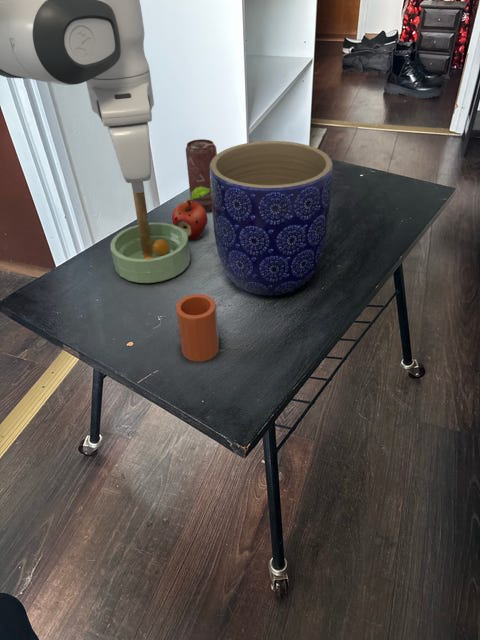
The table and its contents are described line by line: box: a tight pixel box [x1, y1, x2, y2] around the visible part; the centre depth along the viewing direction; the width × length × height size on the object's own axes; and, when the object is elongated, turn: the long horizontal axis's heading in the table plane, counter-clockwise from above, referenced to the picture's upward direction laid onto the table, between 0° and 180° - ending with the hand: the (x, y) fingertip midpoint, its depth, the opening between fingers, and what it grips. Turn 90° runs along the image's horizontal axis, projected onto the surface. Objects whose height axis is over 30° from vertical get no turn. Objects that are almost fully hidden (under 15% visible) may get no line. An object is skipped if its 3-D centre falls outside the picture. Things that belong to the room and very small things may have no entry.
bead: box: [153, 239, 169, 256], centre depth 88 cm, size 3×3×3 cm
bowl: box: [109, 222, 191, 284], centre depth 86 cm, size 14×14×5 cm
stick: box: [132, 191, 153, 258], centre depth 79 cm, size 2×2×19 cm
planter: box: [210, 140, 334, 297], centre depth 77 cm, size 18×18×21 cm
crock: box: [175, 293, 220, 363], centre depth 67 cm, size 5×5×8 cm
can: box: [185, 138, 218, 214], centre depth 101 cm, size 6×6×14 cm
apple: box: [171, 186, 210, 240], centre depth 92 cm, size 8×7×10 cm
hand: (137, 187), depth 76 cm, fingers closed on stick, 2 cm apart
